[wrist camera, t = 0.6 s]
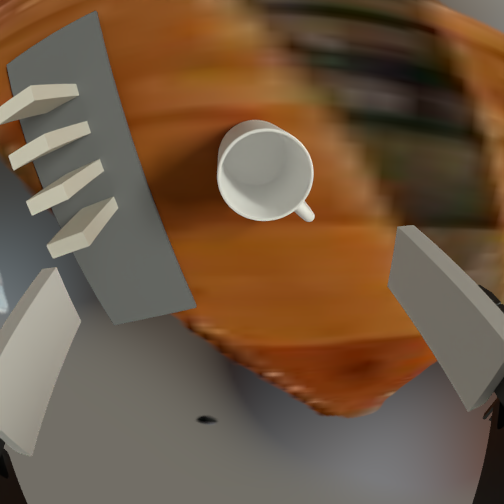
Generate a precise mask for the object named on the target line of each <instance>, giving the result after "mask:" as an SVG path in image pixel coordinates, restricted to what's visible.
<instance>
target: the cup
mask: <svg viewBox="0 0 504 504" xmlns="http://www.w3.org/2000/svg"><path fill="white" fill-rule="evenodd" d="M312 182H313V164H312V160H311V157H310V155H309V153H308V151H307V150H306V148H305V147H304V145H303V144H302V143H301V142H300V141H299V140H298V139H296V138H295V137H294V136H292V135H291V134H289V133H287V132H286V131H284V130H282V129H280V128H279V127H277V126H275V125H273V124H271V123H269V122H266V121H261V120H249V121H245V122H242V123H239V124H237V125H236V126H234V127H233V128H231V129H230V130H229V131H228V132H227V133H226V135H225V136H224V138H223V139H222V141H221V144H220V147H219V151H218V165H217V183H218V187H219V191H220V193H221V195H222V197H223V199H224V201H225V202H226V203H227V205H228V206H229V207H230V208H231V209H232V210H234V211H235V212H236V213H238V214H239V215H241V216H243V217H246V218H248V219H252V220H257V221H271V220H276V219H279V218H282V217H285V216H287V215H289V214H290V213H292V212H293V211H294V212H295V213H297V214H298V215H299V216H300V217H301V218H302V219H303V220H305V221H307V222H311V221H313V220H314V217H315V216H314V213H313V211H312V210H311V209H310V207H309V206H308V205H307V203H306V202H305V201H304V200H305V199H306V197H307V196H308V194H309V192H310V189H311V186H312Z"/></svg>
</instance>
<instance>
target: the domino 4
mask: <svg viewBox="0 0 504 504" xmlns="http://www.w3.org/2000/svg"><path fill="white" fill-rule="evenodd" d="M117 209H118V206H117V203H116V201H115V198H114V196H113V197H111V198H108V199H105V200H103V201H100V202H97V203H95V204H92V205H90V206H87V207H84V208H82V209H81V210H80V211H79V212H78V213H77V214H76V215H75V216H74V217H73V218H72V219H71V220H70V221H69V222H68V223H67V224H66V225H65V226H64V227H63V228H62V229H61V230H60V231H59V232H58V233H57V234H56V235H55V236H54V237H53V239H52V240H51V241H50V242H49V243H48V244H47V245H46V246H47V248H48V250H49V252H50V254H51V256H52V258H56V257H59V256H62V255H65V254H68V253H71V252H74V251H76V250H79V249H82V248H85V247H88V246H90V245H91V243H92V242H93V241H94V239H95V238H96V237H97V235H98V234H99V233H100V231H101V230H102V229H103V227H104V226H105V225H106V223H107V222H108V221H109V219H110V218H111V217H112V216H113V214H114V213H115V212H116V210H117Z"/></svg>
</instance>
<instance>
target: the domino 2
mask: <svg viewBox="0 0 504 504" xmlns="http://www.w3.org/2000/svg"><path fill="white" fill-rule="evenodd" d="M90 133H91V132H90V129H89V126H88V123H87V121H85V122H81V123H78V124H74V125H71V126H67V127H64V128H61V129H57V130H54V131H51V132H48V133H45V134H43V135H41V136H40V137H38V138H36V139H34V140H33V141H31V142H29V143H28V144H26V145H25V146H23V147H21V148H20V149H18V150H17V151H15V152H14V153H12V154H10V155H9V159H10V162H11V165H12V167H13V170H16V169H17V168H19V167H21V166H23V165H25V164H27V163H29V162H31V161H33V160H35V159H37V158H39V157H42V156H44V155H46V154H48V153H50V152H52V151H55V150H57V149H59V148H61V147H63V146H65V145H67V144H69V143H71V142H73V141H75V140H77V139H79V138H81V137H83V136H86V135H88V134H90Z"/></svg>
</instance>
